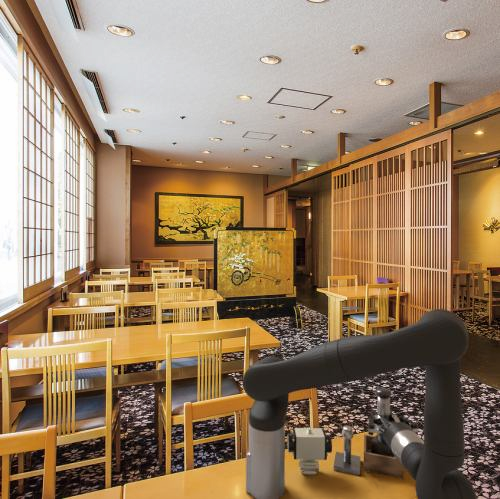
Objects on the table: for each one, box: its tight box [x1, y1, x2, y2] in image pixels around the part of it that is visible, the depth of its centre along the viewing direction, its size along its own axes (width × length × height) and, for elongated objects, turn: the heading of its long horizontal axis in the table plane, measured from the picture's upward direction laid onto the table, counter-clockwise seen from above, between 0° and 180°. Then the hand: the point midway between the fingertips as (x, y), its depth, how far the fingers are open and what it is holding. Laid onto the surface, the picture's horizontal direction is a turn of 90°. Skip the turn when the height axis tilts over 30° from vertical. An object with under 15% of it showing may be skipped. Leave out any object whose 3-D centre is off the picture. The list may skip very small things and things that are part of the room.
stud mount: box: [333, 425, 362, 476], centre depth 100 cm, size 7×7×11 cm
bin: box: [363, 434, 405, 480], centre depth 101 cm, size 10×10×5 cm
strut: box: [371, 387, 395, 457], centre depth 100 cm, size 5×5×18 cm
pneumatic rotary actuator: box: [286, 426, 333, 476], centre depth 97 cm, size 6×12×12 cm, turn 89°
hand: (379, 412), depth 103 cm, fingers closed on strut, 3 cm apart
